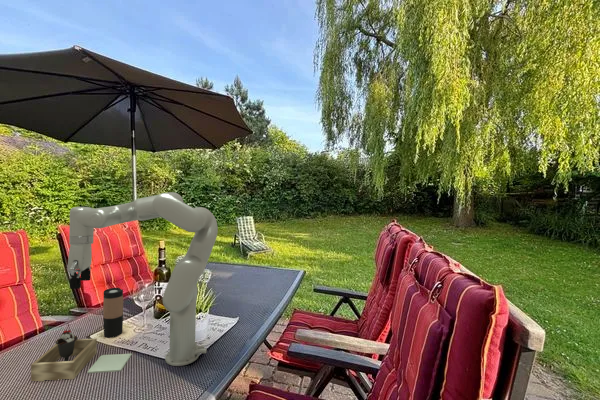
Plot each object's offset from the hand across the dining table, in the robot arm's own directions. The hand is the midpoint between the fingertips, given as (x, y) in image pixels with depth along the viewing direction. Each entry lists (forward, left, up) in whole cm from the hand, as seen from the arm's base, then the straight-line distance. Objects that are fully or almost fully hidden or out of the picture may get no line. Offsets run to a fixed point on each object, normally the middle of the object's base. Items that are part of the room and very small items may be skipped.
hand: (80, 284), depth 120 cm
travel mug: (-4, -20, -29) cm, 36 cm away
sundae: (+3, +5, -29) cm, 30 cm away
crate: (+3, +5, -29) cm, 30 cm away
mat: (-12, +5, -29) cm, 32 cm away
